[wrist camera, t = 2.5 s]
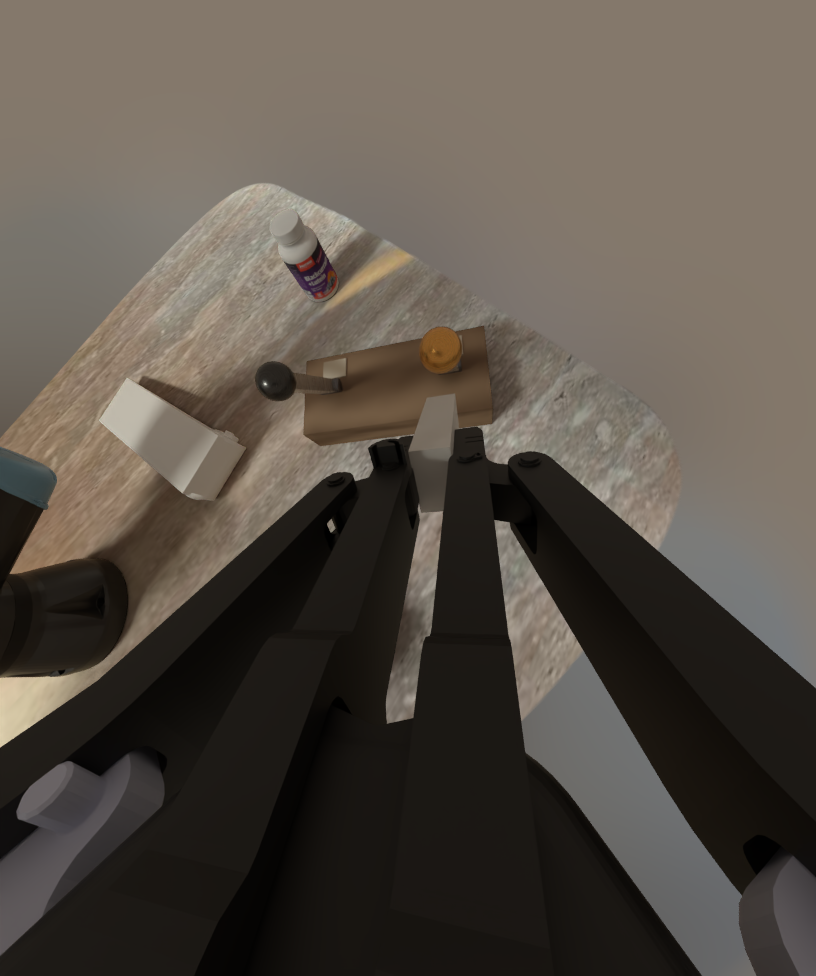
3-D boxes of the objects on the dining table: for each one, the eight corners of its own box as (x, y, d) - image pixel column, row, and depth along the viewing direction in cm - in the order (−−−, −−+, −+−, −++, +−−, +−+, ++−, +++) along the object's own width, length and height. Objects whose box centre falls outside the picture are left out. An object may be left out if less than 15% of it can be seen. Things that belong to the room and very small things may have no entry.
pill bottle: (322, 309, 46) (281, 246, 36) (300, 294, 47) (256, 230, 38) (346, 281, 46) (311, 212, 36) (323, 267, 47) (284, 197, 38)
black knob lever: (347, 398, 37) (286, 398, 24) (323, 402, 37) (252, 404, 25) (342, 370, 36) (276, 355, 24) (317, 375, 37) (241, 363, 24)
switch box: (491, 423, 36) (492, 407, 32) (320, 446, 41) (302, 434, 37) (484, 348, 38) (483, 324, 34) (322, 378, 43) (305, 360, 39)
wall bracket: (150, 438, 57) (235, 505, 44) (96, 430, 50) (178, 505, 38) (164, 386, 55) (257, 440, 43) (111, 370, 49) (201, 429, 36)
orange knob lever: (466, 379, 34) (463, 367, 21) (437, 384, 34) (418, 375, 22) (463, 347, 33) (459, 317, 21) (433, 353, 33) (412, 327, 21)
